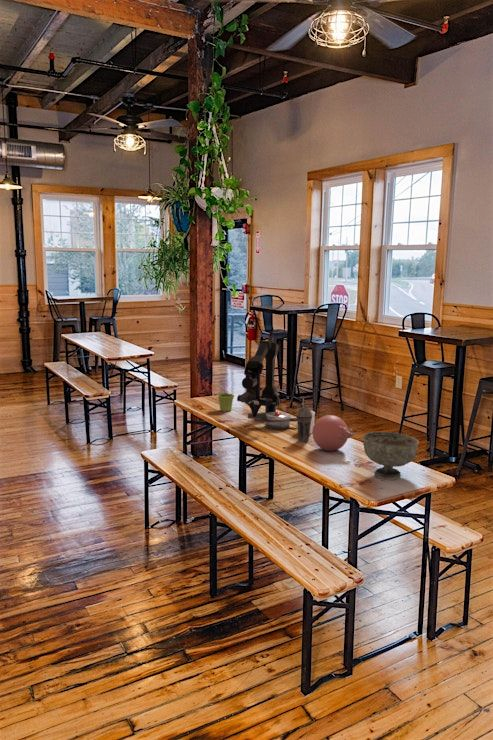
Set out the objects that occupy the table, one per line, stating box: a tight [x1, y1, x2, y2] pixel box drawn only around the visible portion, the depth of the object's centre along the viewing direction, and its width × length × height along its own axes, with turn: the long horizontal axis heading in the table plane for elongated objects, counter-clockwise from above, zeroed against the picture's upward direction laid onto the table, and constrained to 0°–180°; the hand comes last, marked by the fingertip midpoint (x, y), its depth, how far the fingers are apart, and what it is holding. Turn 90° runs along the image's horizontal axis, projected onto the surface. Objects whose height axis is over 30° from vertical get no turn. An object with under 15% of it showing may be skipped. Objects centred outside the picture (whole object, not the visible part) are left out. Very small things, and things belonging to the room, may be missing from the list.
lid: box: [246, 411, 292, 421], centre depth 288 cm, size 21×13×2 cm, turn 97°
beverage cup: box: [295, 398, 312, 443], centre depth 264 cm, size 7×7×20 cm
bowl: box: [362, 431, 420, 481], centre depth 221 cm, size 20×19×15 cm
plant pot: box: [217, 393, 235, 413], centre depth 320 cm, size 9×9×9 cm
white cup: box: [309, 410, 316, 435], centre depth 279 cm, size 8×8×10 cm
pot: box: [253, 417, 297, 431], centre depth 289 cm, size 12×23×4 cm, turn 92°
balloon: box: [312, 414, 354, 452], centre depth 249 cm, size 15×20×15 cm
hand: (254, 417), depth 285 cm, fingers closed
